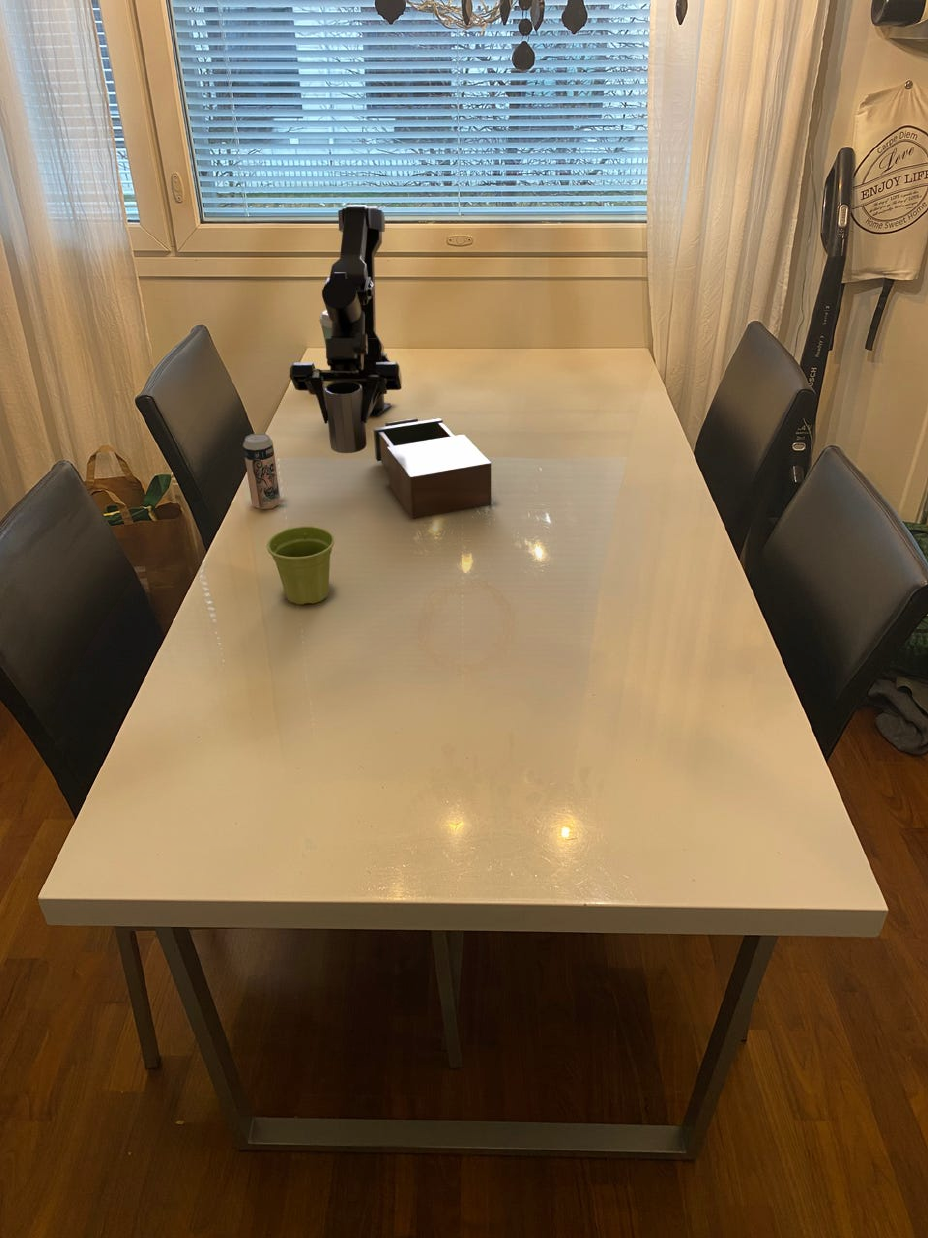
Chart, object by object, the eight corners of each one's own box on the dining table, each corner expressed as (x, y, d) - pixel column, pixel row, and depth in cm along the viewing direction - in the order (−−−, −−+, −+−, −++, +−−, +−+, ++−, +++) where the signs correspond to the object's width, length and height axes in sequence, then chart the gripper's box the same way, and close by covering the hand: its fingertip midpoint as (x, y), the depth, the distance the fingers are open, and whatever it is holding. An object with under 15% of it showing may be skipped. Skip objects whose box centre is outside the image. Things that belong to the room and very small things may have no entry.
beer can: (265, 513, 160) (256, 446, 153) (246, 505, 162) (235, 439, 156) (286, 502, 163) (278, 436, 157) (267, 495, 166) (257, 430, 159)
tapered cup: (351, 435, 172) (346, 378, 166) (373, 445, 168) (369, 387, 162) (323, 446, 168) (317, 387, 163) (345, 456, 165) (339, 397, 159)
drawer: (369, 450, 179) (366, 420, 176) (434, 440, 183) (433, 409, 179) (395, 485, 166) (393, 453, 163) (464, 473, 170) (463, 442, 167)
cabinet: (389, 486, 168) (386, 446, 164) (464, 473, 172) (463, 434, 168) (412, 518, 157) (410, 476, 153) (491, 504, 161) (491, 462, 157)
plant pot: (260, 600, 137) (252, 546, 133) (304, 571, 144) (298, 519, 139) (310, 619, 133) (303, 564, 128) (353, 589, 139) (348, 536, 135)
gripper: (284, 315, 160) (280, 403, 157) (396, 314, 159) (394, 402, 156) (298, 347, 171) (294, 429, 168) (402, 346, 170) (401, 429, 167)
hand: (344, 422), depth 164 cm, fingers closed on tapered cup, 6 cm apart
